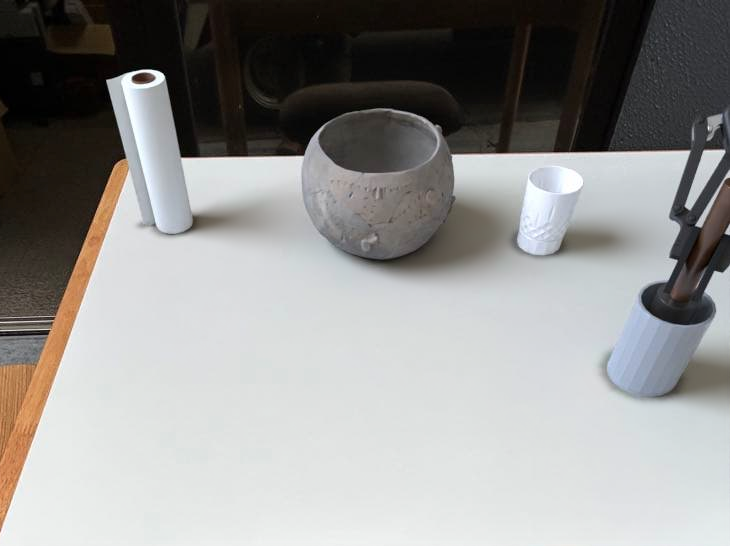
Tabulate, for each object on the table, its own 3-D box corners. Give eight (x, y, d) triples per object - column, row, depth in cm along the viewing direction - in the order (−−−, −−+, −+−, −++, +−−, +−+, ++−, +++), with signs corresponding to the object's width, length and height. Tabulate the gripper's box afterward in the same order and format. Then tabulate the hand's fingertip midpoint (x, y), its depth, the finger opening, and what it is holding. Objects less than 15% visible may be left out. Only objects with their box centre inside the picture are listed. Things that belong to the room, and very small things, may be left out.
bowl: (278, 255, 102) (269, 155, 90) (340, 185, 114) (340, 87, 101) (414, 293, 97) (425, 192, 84) (466, 214, 108) (482, 115, 95)
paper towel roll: (200, 221, 108) (173, 73, 90) (176, 239, 105) (143, 90, 88) (168, 208, 110) (135, 62, 93) (144, 225, 108) (105, 78, 90)
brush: (691, 318, 80) (767, 177, 66) (681, 342, 78) (758, 201, 63) (650, 305, 81) (716, 165, 67) (639, 328, 79) (705, 188, 65)
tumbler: (682, 365, 87) (723, 293, 78) (666, 406, 83) (707, 336, 74) (617, 344, 89) (649, 272, 80) (598, 383, 85) (629, 312, 76)
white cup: (518, 225, 106) (534, 161, 97) (567, 235, 104) (587, 170, 96) (508, 252, 102) (523, 188, 93) (559, 262, 100) (579, 198, 92)
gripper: (862, 98, 67) (747, 322, 73) (708, 68, 72) (611, 282, 78) (894, 57, 60) (764, 308, 66) (721, 26, 65) (614, 265, 71)
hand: (682, 294), depth 72 cm, fingers closed on brush, 2 cm apart
